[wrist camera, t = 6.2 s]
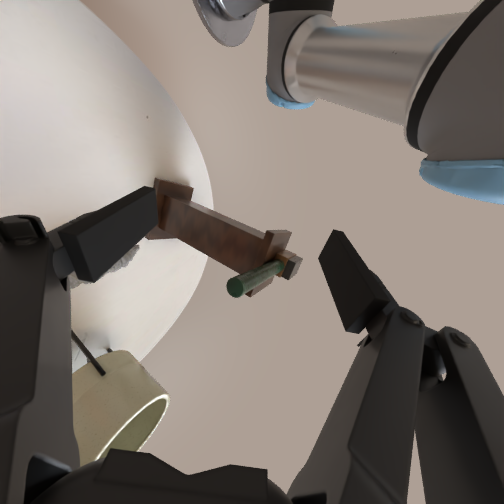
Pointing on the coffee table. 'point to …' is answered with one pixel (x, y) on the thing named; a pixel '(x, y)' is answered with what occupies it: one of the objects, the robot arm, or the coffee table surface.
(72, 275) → the seashell
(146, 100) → the coffee table surface
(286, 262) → the brush
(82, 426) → the planter
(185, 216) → the stand
